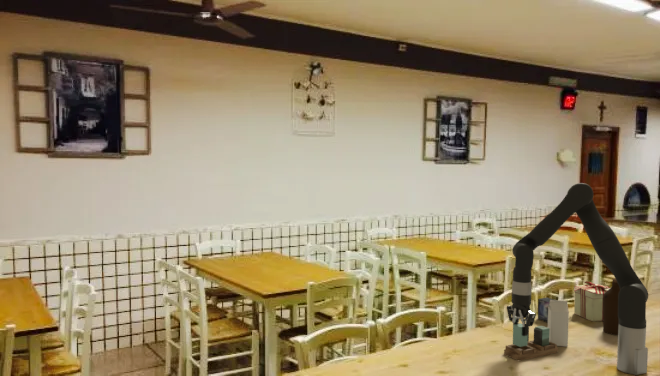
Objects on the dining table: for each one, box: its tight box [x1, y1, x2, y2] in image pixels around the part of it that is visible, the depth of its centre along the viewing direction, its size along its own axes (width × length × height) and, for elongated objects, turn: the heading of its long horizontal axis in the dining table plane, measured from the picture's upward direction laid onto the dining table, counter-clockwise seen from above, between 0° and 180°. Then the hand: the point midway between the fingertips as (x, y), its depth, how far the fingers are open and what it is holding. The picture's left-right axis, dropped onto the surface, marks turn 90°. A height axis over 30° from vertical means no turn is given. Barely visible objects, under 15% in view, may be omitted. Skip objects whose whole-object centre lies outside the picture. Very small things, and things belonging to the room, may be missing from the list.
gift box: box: [573, 281, 611, 322], centre depth 284 cm, size 17×18×17 cm
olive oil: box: [602, 277, 620, 336], centre depth 259 cm, size 11×11×25 cm
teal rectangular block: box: [512, 322, 530, 347], centre depth 227 cm, size 4×5×8 cm
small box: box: [537, 297, 554, 323], centre depth 277 cm, size 11×6×10 cm, turn 25°
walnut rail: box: [503, 325, 559, 361], centre depth 230 cm, size 8×22×10 cm, turn 117°
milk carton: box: [547, 299, 570, 347], centre depth 242 cm, size 7×7×19 cm
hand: (520, 333), depth 226 cm, fingers closed on teal rectangular block, 4 cm apart
